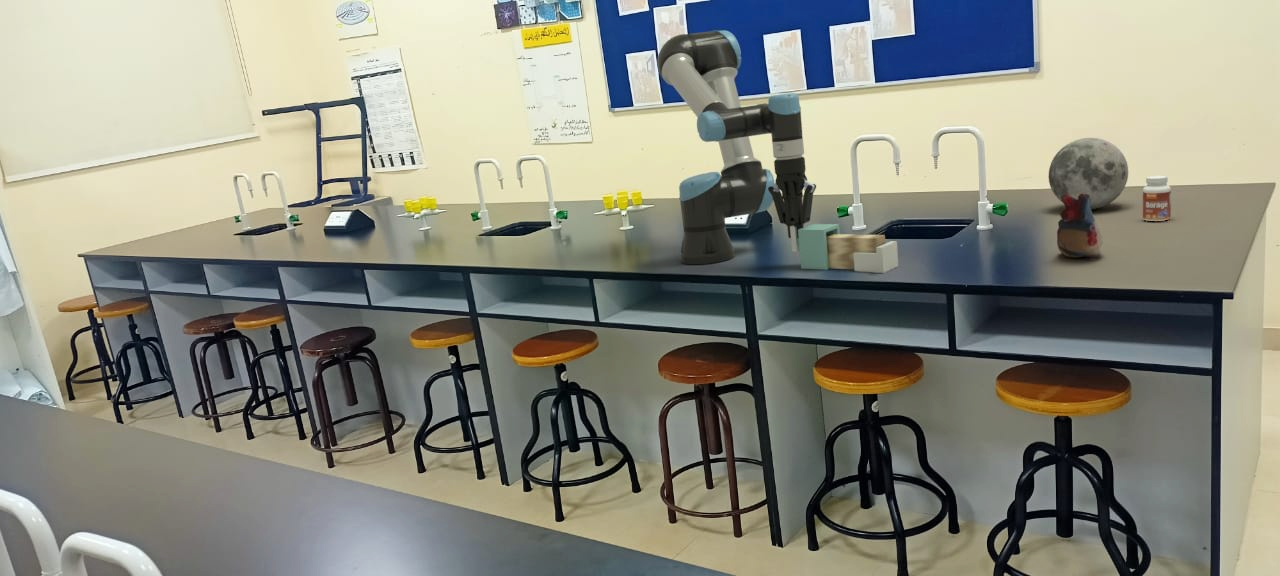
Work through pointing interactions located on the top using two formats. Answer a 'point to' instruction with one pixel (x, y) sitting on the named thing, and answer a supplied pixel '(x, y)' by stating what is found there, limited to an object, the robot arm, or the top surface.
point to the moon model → (1089, 171)
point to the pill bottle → (1156, 198)
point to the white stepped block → (877, 259)
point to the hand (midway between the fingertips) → (797, 250)
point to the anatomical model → (1078, 228)
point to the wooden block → (850, 248)
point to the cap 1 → (815, 245)
